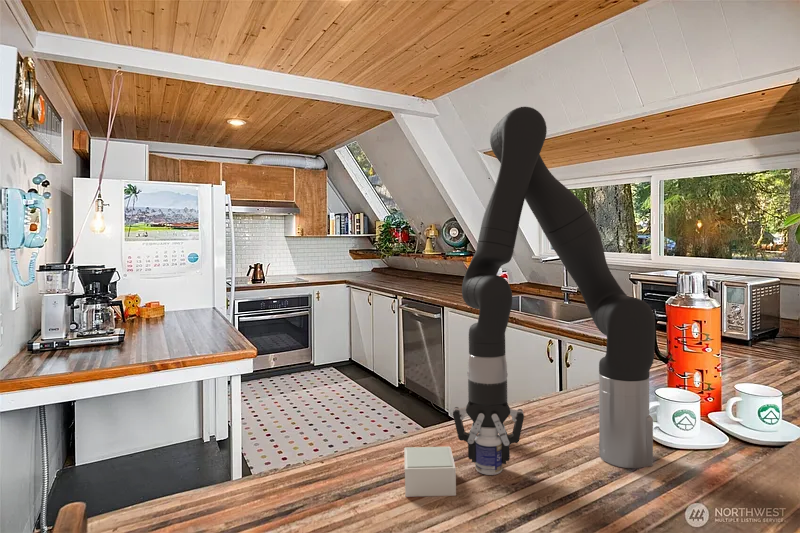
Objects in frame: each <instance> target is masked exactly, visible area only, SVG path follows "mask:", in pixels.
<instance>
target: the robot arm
mask: <svg viewBox="0 0 800 533" xmlns="http://www.w3.org/2000/svg"><path fill="white" fill-rule="evenodd" d="M545 120H546V119H545V118H544V117H543V115H542V113H541V112H540V111H539V110H537V109H536V108H534V107H530V106H520V107H517V108H514V109H512V110H511V111H509V112H508V113H507V114H505V115H504V116H503V117H502V118H501V119H500V120H499V121H497V123H496V124H495V125H494V127H493V128H492V130H491V132H490V136H489V143H490V147H491V150H492V152H493V154H494V156H495V157H496V160H498V162H499V163H500V166H499V169H498V170H499V171H498V175H497V179H496V182H495V185H494V187H493V190H492V193H491V196H490V198H489V200H488V203H487V204H486V208H485V211H484V213H483V218H482V221H481V225H480V231H479V236H478V240H477V246H476V250H475V253H474V254H473V257H472V258H471V261H470V263H469V265H468V268H467V269H466V271H465V274H464V277H463V280H462V283H461V296H462V300H463V301H464V303H465V304H466V305H467V306H468V307H470V308H472V309H475V310H479V314H478V319H477V322H475V323H473V324H471V325H470V326H469V329H468V359H467V360H468V361H467V392H468V396H467V397H468V398H467V400H468V401H467V405H466V406H463V407H459V406H455V407H454V408H453V412H452V417H453V420H454V426H455V429H456V434H457V437H458V440H459V441H464V442H466V443H467V451H468V452H467V453H468V454H467V457H468V459H469V460H471V462H472V463H475V438H476V436H477V435H478V434H479V432H478V431H479V429H480V427H493V428H497V431H498V435H500V437H501V439H502V465H506V464H507V462H509V461H510V457H511V456H510V455H511V454H510V451H511V449H510V446H511V445H512V444H518V443H519V442H520V439H521V434H522V433H521V432H522V427H523V425H524V424H523V423H524V419H525V413H524V411H523V409H521V408H518V409H513V408H510V406H509V403H508V364H507V363H508V362H507V356H506V331H507V329H508V328H507V327H508V324H509V320H510V316H511V315H510V314H511V311H512V305H513V292H512V287H511V285H510V283H509V281H507V279H506V278H505V277H503V276H501V275H498V273H499V270H500V268H501V267H502V266H503V265H506V264H508V263H510V261H512V258H513V255H514V249H515V245H516V241H517V235H518V229H519V226H520V221H521V216H522V210H523V207H524V205H525V204H524V203H525V201H526V203H527V205H528V206H529V209H530V211H531V212H532V213H533V216H534V218H535V219H536V220H537V222H538V224H539V226H540V228H541V230H542V232H543V233H544V235H545V237H546V239H547V240H548V242H549V244H550V246H551V247H552V249H553V250H554V252H555V254H556V255H557V257H558V259H559V260H560V261H561V263H562V265H563V266H564V268H565V269H566V270H567V272H568V274H569V275H570V277H571V278H572V280H573V281H574V283H575V284H576V286H577V288H578V290H579V291H580V293H581V296H582V298H583V300H584V303H585V305H586V307H587V310H588V311H589V314H590V316H591V319H592V321H593V323H594V325H595V326H596V328H597V329H598V330H599V332H600V333H602V334H603V335H604V336H606V350H605V351H606V352H605V356H604V357H602V358H600V360H599V362H598V379H599V380H598V382H599V383H598V390H599V391H598V395H599V396H598V397H599V398H598V404H599V406H598V408H599V409H598V410H599V411H598V413H599V414H598V415H599V418H598V419H599V420H598V422H599V424H598V425H599V426H598V427H599V428H598V429H599V430H598V432H599V433H598V434H599V435H598V436H599V437H598V438H599V441H598V449H599V450H598V452H599V453H598V454H599V458H600V459H601V460H603V461H604V462H606V463H608V464H610V465H611V466H615V467H619V468H625V469H640V468H644V467H653V466H654V437H653V436H654V418H653V417H652V416H651V414H650V370H651V368H652V365H653V363H654V359H655V348H656V347H655V345H656V343H655V342H656V319H655V318H656V317H655V315H654V312H653V309H652V307H651V306H650V304H648V303H647V302H646V301H644V300H643V299H640V298H638V297H634V296H630V295H627V294H626V293H625V291H624V290H623V289H622V288H621V286H620V285H619V283H618V282H617V280H616V279H615V276H614V275H613V274H612V272H611V269H610V268H609V266H608V263H607V260H606V254H605V250H604V246H603V241H602V237H601V234H600V232H599V229H598V227H597V225H596V224H595V221H594V220H593V218H592V217H591V215H590V213H589V211H588V209H587V208H586V206H585V205H584V203H583V202H582V201H581V199H579V197H577V196H576V194H574V193H573V192H572V191H571V190H570V189H569V188H568V187H566V186H565V185H564V184H563V183H562V182H560V181H559V180H558V179H557V178H556V177H555V176H554V175H553V174H552V172H551V171H550V170H549V168H548V167H547V165H546V164H545V162H544V159H543V158H542V156H541V151H542V149H543V146H544V143H545V140H546V138H547V133H548V132H547V129H548V128H547V122H546V121H545ZM466 414H467V415H468V417H469V418H470V420H471V421H472V424H471V427H470V430H469V432H467V431H465V427H464V423H463V420H464V419H465V415H466ZM509 416H511V420H512V422H514V424H513V428H512V429H513V430H512V433H511V434H508V432H507V429H506V427H505V426H506V425H505V424H504V422H505V421H506V420H507V419H508V417H509Z"/></svg>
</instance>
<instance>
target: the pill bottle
mask: <svg viewBox="0 0 800 533" xmlns="http://www.w3.org/2000/svg"><path fill="white" fill-rule="evenodd" d="M474 463H475V464H474V465H475V470H476V471H477V473H479V474H482V475H487V476H495V475H498V474H501V472H502V471H503V464H502V439H501V437H500V435H499V433H498V431H497V428H493V427H480V429H479V431H478V434H477V435H476V438H475V462H474Z"/></svg>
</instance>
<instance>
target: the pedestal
mask: <svg viewBox="0 0 800 533" xmlns="http://www.w3.org/2000/svg"><path fill="white" fill-rule="evenodd" d="M403 451H404V452H403V454H404V455H403V456H404V493H405V495H404V496H405V497H406V498H407V497H408V498H409V497H412V498H413V497H450V496H454V497H455V496H457V476H456V473H457V472H456V470H457V469H456V465H455V464H456V463H455V460H454V456H453V452H452V451H453V450H452V448H451V446H419V447H418V446H416V447H414V446H412V447H411V446H410V447H409V446H408V447H404V450H403Z"/></svg>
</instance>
